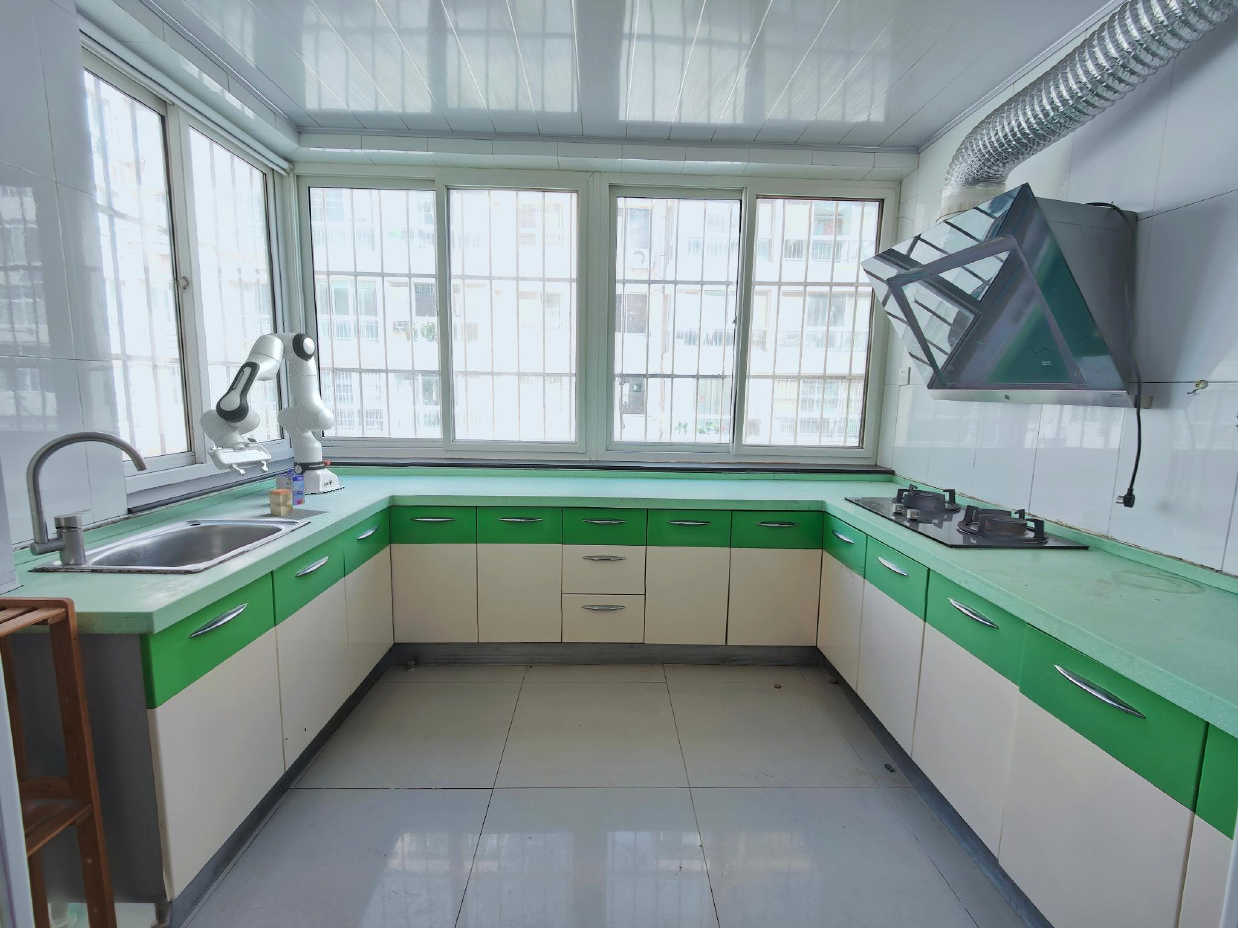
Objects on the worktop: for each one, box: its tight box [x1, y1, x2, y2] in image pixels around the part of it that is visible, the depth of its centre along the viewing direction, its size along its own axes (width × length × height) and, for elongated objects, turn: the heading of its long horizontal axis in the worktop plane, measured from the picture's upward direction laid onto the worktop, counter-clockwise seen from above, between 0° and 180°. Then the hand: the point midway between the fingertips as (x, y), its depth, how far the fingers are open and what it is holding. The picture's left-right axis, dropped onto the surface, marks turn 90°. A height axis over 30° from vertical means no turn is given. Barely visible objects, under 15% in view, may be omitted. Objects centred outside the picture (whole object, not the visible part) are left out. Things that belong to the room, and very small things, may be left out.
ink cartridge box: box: [275, 468, 306, 506], centre depth 218 cm, size 10×6×14 cm, turn 70°
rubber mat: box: [259, 507, 328, 521], centre depth 201 cm, size 14×18×1 cm
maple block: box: [268, 489, 294, 516], centre depth 200 cm, size 5×5×9 cm
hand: (254, 473), depth 201 cm, fingers open, 8 cm apart
